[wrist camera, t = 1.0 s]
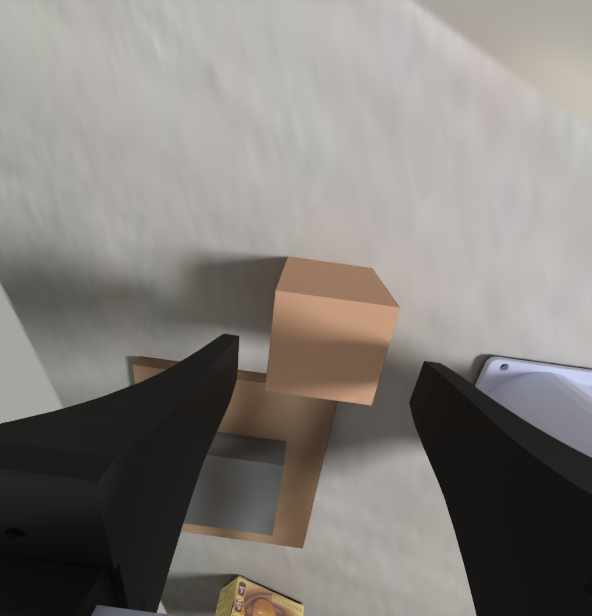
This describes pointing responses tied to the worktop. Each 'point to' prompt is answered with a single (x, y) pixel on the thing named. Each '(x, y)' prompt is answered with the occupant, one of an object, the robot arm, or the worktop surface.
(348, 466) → the worktop surface
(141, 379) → the base
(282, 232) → the worktop surface
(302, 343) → the block
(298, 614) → the candy box
